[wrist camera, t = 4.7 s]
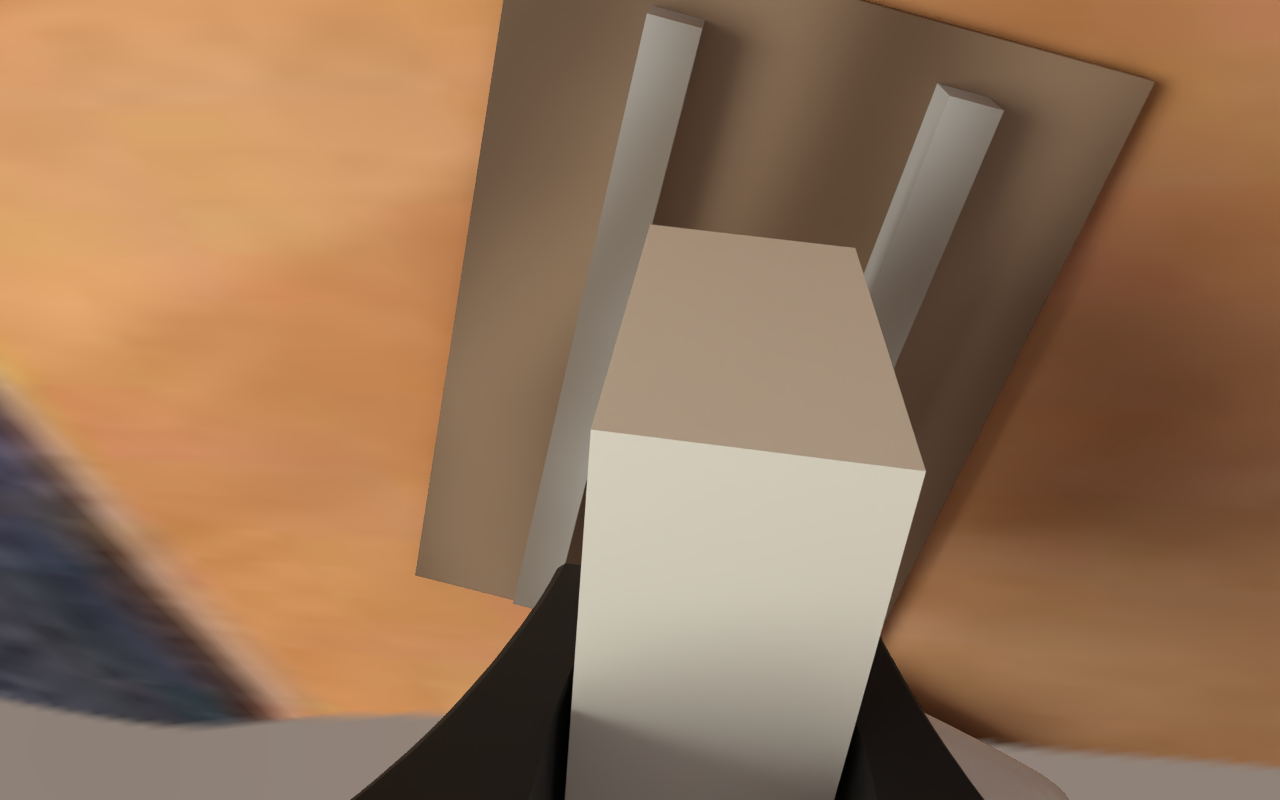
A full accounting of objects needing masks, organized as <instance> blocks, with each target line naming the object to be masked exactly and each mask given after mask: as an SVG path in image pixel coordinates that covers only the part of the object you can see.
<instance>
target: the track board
mask: <svg viewBox="0 0 1280 800" xmlns="http://www.w3.org/2000/svg"><path fill="white" fill-rule="evenodd" d="M1154 83H1155V82H1154V81H1152V80H1150V79H1148V78H1145V77H1142V76H1138V75H1134V74H1131V73H1127V72H1123V71H1120V70H1116V69H1112V68H1109V67H1105V66H1102V65H1098V64H1094V63H1091V62H1087V61H1083V60H1080V59H1076V58H1072V57H1069V56H1065V55H1062V54H1058V53H1054V52H1051V51H1047V50H1043V49H1040V48H1036V47H1032V46H1029V45H1025V44H1021V43H1018V42H1014V41H1011V40H1007V39H1003V38H1000V37H996V36H992V35H989V34H985V33H981V32H978V31H974V30H970V29H967V28H963V27H960V26H956V25H952V24H949V23H945V22H941V21H938V20H934V19H930V18H927V17H923V16H920V15H916V14H912V13H909V12H905V11H901V10H898V9H894V8H890V7H887V6H883V5H879V4H876V3H872V2H869V1H865V0H504V1H503V7H502V14H501V20H500V27H499V33H498V40H497V46H496V53H495V59H494V66H493V72H492V79H491V85H490V92H489V98H488V105H487V111H486V118H485V125H484V131H483V138H482V144H481V151H480V157H479V164H478V170H477V177H476V183H475V190H474V196H473V203H472V209H471V216H470V222H469V229H468V235H467V242H466V248H465V255H464V261H463V268H462V274H461V281H460V287H459V294H458V300H457V307H456V313H455V320H454V326H453V333H452V340H451V346H450V353H449V359H448V366H447V372H446V379H445V385H444V392H443V398H442V405H441V411H440V418H439V424H438V431H437V437H436V444H435V450H434V457H433V463H432V470H431V476H430V483H429V489H428V496H427V502H426V509H425V515H424V522H423V528H422V535H421V542H420V548H419V555H418V561H417V568H416V574H415V575H416V576H420V577H424V578H428V579H432V580H436V581H440V582H444V583H448V584H452V585H456V586H460V587H464V588H468V589H472V590H476V591H480V592H483V593H487V594H491V595H495V596H499V597H503V598H507V599H511V600H514V602H513V604H517V605H521V606H525V607H529V608H534V606H535V605H536V603H537V602H538V600H539V599H540V597H541V596H542V594H543V593H544V591H545V589H546V588H547V586H548V584H549V583H550V581H551V579H552V577H553V575H554V573H555V572H556V570H557V568H559V567H560V566H562V565H563V564H565V563H568V564H576V565H581V562H582V548H583V533H584V519H585V505H586V491H587V476H588V462H589V448H590V434H591V427H592V424H593V420H594V417H595V413H596V410H597V406H598V403H599V399H600V396H601V392H602V389H603V386H604V382H605V379H606V375H607V372H608V368H609V365H610V361H611V358H612V354H613V351H614V347H615V344H616V341H617V337H618V334H619V330H620V327H621V323H622V320H623V316H624V313H625V309H626V306H627V303H628V299H629V296H630V292H631V289H632V285H633V282H634V278H635V275H636V271H637V268H638V264H639V261H640V258H641V254H642V251H643V247H644V244H645V240H646V237H647V233H648V230H649V226H650V224H651V225H659V226H668V227H677V228H686V229H694V230H703V231H712V232H721V233H729V234H738V235H747V236H755V237H764V238H773V239H782V240H790V241H799V242H808V243H816V244H825V245H834V246H843V247H851V248H855V249H856V252H857V255H858V258H859V261H860V265H861V268H862V271H863V274H864V277H865V280H866V284H867V287H868V290H869V293H870V296H871V299H872V302H873V306H874V309H875V312H876V315H877V318H878V321H879V325H880V328H881V331H882V334H883V337H884V340H885V344H886V347H887V350H888V353H889V356H890V359H891V362H892V366H893V369H894V372H895V375H896V378H897V381H898V385H899V388H900V391H901V394H902V397H903V400H904V404H905V407H906V410H907V413H908V416H909V419H910V423H911V426H912V429H913V432H914V435H915V438H916V441H917V445H918V448H919V451H920V454H921V457H922V460H923V464H924V467H925V470H926V473H925V477H924V480H923V484H922V487H921V491H920V495H919V498H918V502H917V505H916V509H915V512H914V516H913V520H912V523H911V527H910V530H909V534H908V538H907V541H906V545H905V548H904V552H903V555H902V559H901V563H900V566H899V570H898V573H897V577H896V580H895V584H894V588H893V591H892V595H891V598H890V602H889V605H888V609H887V613H886V616H885V620H884V623H885V621H886V619H887V617H888V615H889V613H890V611H891V609H892V607H893V605H894V603H895V601H896V599H897V597H898V595H899V593H900V591H901V589H902V587H903V585H904V583H905V581H906V579H907V577H908V575H909V573H910V571H911V569H912V567H913V565H914V563H915V561H916V559H917V557H918V555H919V553H920V551H921V549H922V547H923V545H924V543H925V541H926V539H927V537H928V535H929V533H930V531H931V529H932V527H933V525H934V523H935V521H936V519H937V517H938V515H939V513H940V511H941V509H942V507H943V505H944V503H945V501H946V499H947V497H948V495H949V493H950V491H951V489H952V487H953V485H954V483H955V481H956V479H957V477H958V475H959V473H960V471H961V469H962V467H963V465H964V463H965V461H966V459H967V457H968V455H969V453H970V451H971V449H972V447H973V445H974V443H975V441H976V439H977V437H978V435H979V433H980V431H981V429H982V427H983V425H984V423H985V421H986V419H987V417H988V415H989V413H990V411H991V409H992V407H993V405H994V403H995V401H996V399H997V397H998V395H999V393H1000V391H1001V389H1002V387H1003V385H1004V383H1005V381H1006V379H1007V377H1008V375H1009V373H1010V371H1011V369H1012V367H1013V365H1014V363H1015V361H1016V359H1017V357H1018V355H1019V353H1020V351H1021V349H1022V347H1023V345H1024V343H1025V341H1026V339H1027V337H1028V335H1029V333H1030V331H1031V329H1032V327H1033V325H1034V323H1035V321H1036V319H1037V317H1038V315H1039V313H1040V311H1041V309H1042V307H1043V305H1044V303H1045V301H1046V299H1047V297H1048V295H1049V293H1050V291H1051V289H1052V287H1053V285H1054V283H1055V281H1056V279H1057V277H1058V275H1059V273H1060V271H1061V269H1062V267H1063V265H1064V263H1065V261H1066V259H1067V257H1068V255H1069V253H1070V251H1071V249H1072V247H1073V245H1074V243H1075V241H1076V239H1077V237H1078V235H1079V233H1080V231H1081V229H1082V227H1083V225H1084V223H1085V221H1086V219H1087V217H1088V215H1089V213H1090V211H1091V209H1092V207H1093V205H1094V203H1095V201H1096V199H1097V197H1098V195H1099V193H1100V191H1101V189H1102V187H1103V185H1104V183H1105V181H1106V179H1107V177H1108V175H1109V173H1110V171H1111V169H1112V167H1113V165H1114V163H1115V161H1116V159H1117V157H1118V155H1119V153H1120V151H1121V149H1122V147H1123V145H1124V143H1125V141H1126V139H1127V137H1128V135H1129V133H1130V131H1131V129H1132V127H1133V125H1134V123H1135V121H1136V119H1137V117H1138V115H1139V113H1140V111H1141V109H1142V107H1143V105H1144V103H1145V101H1146V99H1147V97H1148V95H1149V93H1150V91H1151V89H1152V87H1153V85H1154ZM884 623H883V625H884Z"/></svg>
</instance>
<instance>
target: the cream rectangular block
mask: <svg viewBox="0 0 1280 800" xmlns="http://www.w3.org/2000/svg"><path fill="white" fill-rule="evenodd" d="M925 473H926V470H925V467H924V464H923V460H922V457H921V454H920V451H919V448H918V445H917V441H916V438H915V435H914V432H913V429H912V426H911V423H910V419H909V416H908V413H907V410H906V407H905V404H904V400H903V397H902V394H901V391H900V388H899V385H898V381H897V378H896V375H895V372H894V369H893V366H892V362H891V359H890V356H889V353H888V350H887V347H886V344H885V340H884V337H883V334H882V331H881V328H880V325H879V321H878V318H877V315H876V312H875V309H874V306H873V302H872V299H871V296H870V293H869V290H868V287H867V284H866V280H865V277H864V274H863V271H862V268H861V265H860V261H859V258H858V255H857V252H856V249H855V248H851V247H843V246H834V245H825V244H816V243H808V242H799V241H790V240H782V239H773V238H764V237H755V236H747V235H738V234H729V233H721V232H712V231H703V230H694V229H686V228H677V227H668V226H659V225H651V224H650V226H649V230H648V233H647V237H646V240H645V244H644V247H643V251H642V254H641V258H640V261H639V264H638V268H637V271H636V275H635V278H634V282H633V285H632V289H631V292H630V296H629V299H628V303H627V306H626V309H625V313H624V316H623V320H622V323H621V327H620V330H619V334H618V337H617V341H616V344H615V347H614V351H613V354H612V358H611V361H610V365H609V368H608V372H607V375H606V379H605V382H604V386H603V389H602V392H601V396H600V399H599V403H598V406H597V410H596V413H595V417H594V420H593V424H592V427H591V434H590V448H589V462H588V476H587V491H586V505H585V519H584V533H583V548H582V562H581V576H580V590H579V605H578V619H577V633H576V647H575V662H574V676H573V690H572V704H571V719H570V733H569V747H568V761H567V776H566V790H565V800H834V799H835V795H836V791H837V788H838V784H839V781H840V777H841V774H842V770H843V766H844V763H845V759H846V756H847V752H848V749H849V745H850V741H851V738H852V734H853V731H854V727H855V724H856V720H857V716H858V713H859V709H860V706H861V702H862V698H863V695H864V691H865V688H866V684H867V681H868V677H869V673H870V670H871V666H872V663H873V659H874V656H875V652H876V648H877V645H878V641H879V638H880V634H881V631H882V627H883V623H884V620H885V616H886V613H887V609H888V605H889V602H890V598H891V595H892V591H893V588H894V584H895V580H896V577H897V573H898V570H899V566H900V563H901V559H902V555H903V552H904V548H905V545H906V541H907V538H908V534H909V530H910V527H911V523H912V520H913V516H914V512H915V509H916V505H917V502H918V498H919V495H920V491H921V487H922V484H923V480H924V477H925Z"/></svg>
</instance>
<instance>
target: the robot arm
mask: <svg viewBox="0 0 1280 800" xmlns="http://www.w3.org/2000/svg"><path fill="white" fill-rule="evenodd" d="M580 576H581V565H576V564H568V563H565V564H563V565H562V566H560V567H559V568H557V570H556V572H555V573H554V575H553V577H552V579H551V581H550V583H549V584H548V586H547V588H546V589H545V591H544V593H543V594H542V596H541V597H540V599H539V600H538V602H537V603H536V605H535V606H534V608H533V609H532V611H531V612H530V614H529V615H528V616H527V618H526V619H525V621H524V622H523V624H522V625H521V626H520V628H519V629H518V630H517V632H516V633H515V634H514V635H513V637H512V638H511V639H510V641H509V642H508V643H507V645H506V646H505V647H504V648H503V650H502V651H501V652H500V654H499V655H498V656H497V657H496V659H495V660H494V661H493V662H492V664H491V665H490V666H489V667H488V668H487V669H486V671H485V672H484V673H483V674H482V675H481V676H480V677H479V679H478V680H477V681H476V682H475V683H474V684H473V685H472V686H471V688H470V689H469V690H468V691H467V692H466V693H465V694H464V696H463V697H462V698H461V699H460V700H459V701H458V702H457V703H456V704H455V705H454V707H453V708H452V709H451V710H450V711H449V712H448V713H447V714H446V715H445V716H444V717H443V718H442V719H441V720H440V721H439V722H438V723H437V724H436V725H435V726H434V727H433V728H432V729H431V730H430V731H429V732H428V733H427V734H426V735H425V736H424V737H423V738H422V739H420V740H419V741H418V742H417V743H416V744H415V745H414V746H413V747H412V748H411V749H410V750H409V751H408V752H407V753H406V754H404V755H403V756H402V757H401V758H400V759H399V760H398V761H396V762H395V763H394V764H393V765H392V766H390V767H389V768H388V769H387V770H386V771H385V772H384V773H382V774H381V775H380V776H379V777H378V778H377V779H375V780H374V781H373V782H372V783H371V784H369V785H368V786H367V787H366V788H365V789H363V790H362V791H361V792H360V793H358V794H357V795H356V796H355V797H353V798H352V799H351V800H565V790H566V776H567V761H568V747H569V733H570V719H571V704H572V690H573V676H574V662H575V647H576V633H577V619H578V605H579V590H580ZM834 800H984V798H983V797H982V796H981V795H980V793H979V792H978V790H977V789H976V788H975V786H974V785H973V784H972V782H971V781H970V780H969V778H968V777H967V775H966V774H965V773H964V771H963V770H962V768H961V767H960V766H959V764H958V763H957V761H956V760H955V758H954V757H953V756H952V754H951V753H950V751H949V750H948V748H947V747H946V745H945V744H944V742H943V741H942V739H941V738H940V736H939V735H938V733H937V732H936V730H935V729H934V727H933V726H932V724H931V722H930V721H929V719H928V718H927V716H926V714H925V713H924V711H923V710H922V708H921V706H920V705H919V703H918V702H917V700H916V698H915V697H914V695H913V694H912V692H911V690H910V689H909V687H908V685H907V683H906V682H905V680H904V678H903V677H902V675H901V673H900V671H899V670H898V668H897V666H896V664H895V662H894V661H893V659H892V657H891V655H890V654H889V652H888V650H887V648H886V646H885V644H884V642H883V641H882V639H881V637H880V638H879V641H878V645H877V648H876V652H875V656H874V659H873V663H872V666H871V670H870V673H869V677H868V681H867V684H866V688H865V691H864V695H863V698H862V702H861V706H860V709H859V713H858V716H857V720H856V724H855V727H854V731H853V734H852V738H851V741H850V745H849V749H848V752H847V756H846V759H845V763H844V766H843V770H842V774H841V777H840V781H839V784H838V788H837V791H836V795H835V799H834Z"/></svg>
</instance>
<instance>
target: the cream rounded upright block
mask: <svg viewBox="0 0 1280 800" xmlns="http://www.w3.org/2000/svg"><path fill="white" fill-rule="evenodd" d="M924 713H925V712H924ZM925 714H926V713H925ZM926 716H927V718H928V719H929V721H930V722H931V724H932V726H933V727H934V729H935V730H936V732H937V733H938V735H939V736H940V738H941V739H942V741H943V742H944V744H945V745H946V747H947V748H948V750H949V751H950V753H951V754H952V756H953V757H954V758H955V760H956V761H957V763H958V764H959V766H960V767H961V768H962V770H963V771H964V773H965V774H966V775H967V777H968V778H969V780H970V781H971V782H972V784H973V785H974V786H975V788H976V789H977V790H978V792H979V793H980V795H981V796H982V797H983V798H984V800H1069V799H1068V798H1067V796H1066V795H1065V793H1064V792H1063V791H1062V790H1061V789H1060V788H1059V787H1057V786H1056V785H1055V784H1054V783H1052V782H1051V781H1050V780H1049V779H1047V778H1046V777H1044V776H1042V775H1041V774H1040V773H1038V772H1036V771H1034V770H1033V769H1031V768H1029V767H1027V766H1026V765H1024V764H1022V763H1020V762H1018V761H1016V760H1015V759H1013V758H1011V757H1009V756H1008V755H1006V754H1004V753H1002V752H1000V751H998V750H996V749H995V748H993V747H991V746H989V745H987V744H985V743H983V742H981V741H979V740H978V739H976V738H974V737H972V736H970V735H968V734H966V733H964V732H962V731H960V730H958V729H956V728H954V727H952V726H950V725H948V724H946V723H944V722H942V721H940V720H938V719H936V718H934V717H932V716H930V715H928V714H926Z"/></svg>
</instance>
